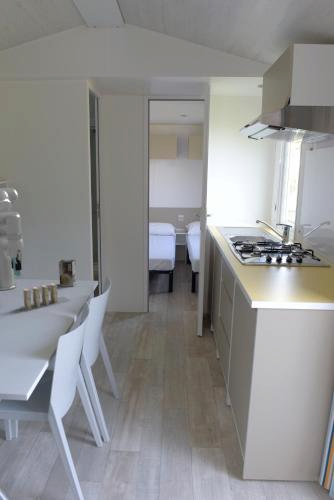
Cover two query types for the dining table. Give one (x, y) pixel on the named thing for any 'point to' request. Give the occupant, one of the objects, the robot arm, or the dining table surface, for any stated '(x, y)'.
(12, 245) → the robot arm
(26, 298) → the domino
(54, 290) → the domino
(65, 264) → the coffee box
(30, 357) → the dining table surface
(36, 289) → the domino
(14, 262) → the teal domino
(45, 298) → the domino
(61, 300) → the slate mat
